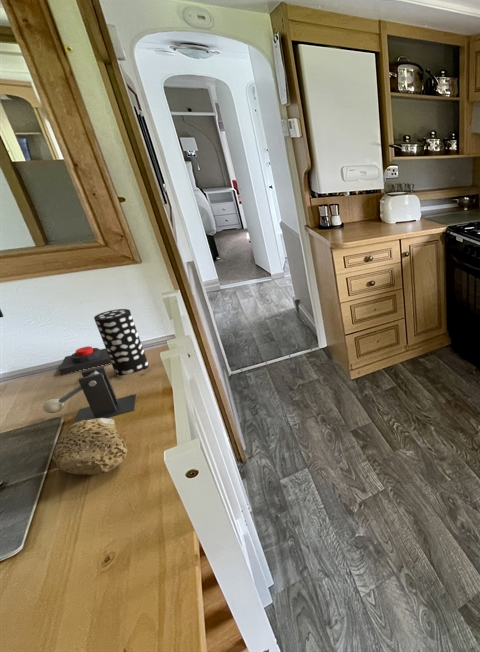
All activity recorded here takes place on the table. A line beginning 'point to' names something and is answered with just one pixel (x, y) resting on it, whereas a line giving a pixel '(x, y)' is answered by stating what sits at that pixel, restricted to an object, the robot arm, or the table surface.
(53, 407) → the switch lever
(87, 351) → the power button
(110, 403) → the lever base
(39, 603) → the table surface
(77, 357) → the red push button box
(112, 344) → the white-spotted black cylinder
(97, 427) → the sponge
